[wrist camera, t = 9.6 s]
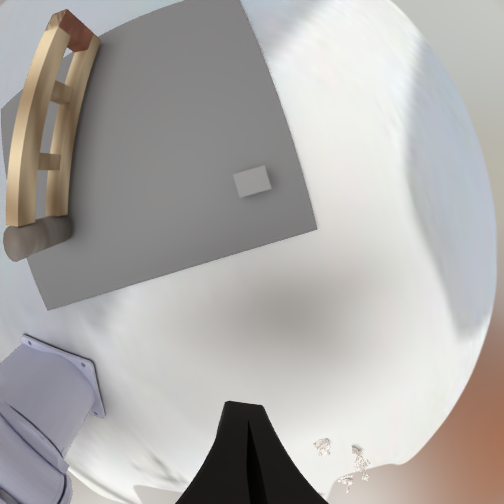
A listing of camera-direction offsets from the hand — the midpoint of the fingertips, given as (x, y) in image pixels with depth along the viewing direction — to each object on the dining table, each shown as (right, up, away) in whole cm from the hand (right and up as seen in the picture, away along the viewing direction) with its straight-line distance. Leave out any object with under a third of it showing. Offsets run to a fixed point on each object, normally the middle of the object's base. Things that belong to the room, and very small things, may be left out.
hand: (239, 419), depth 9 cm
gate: (-12, +14, +5) cm, 19 cm away
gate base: (-9, +14, +7) cm, 18 cm away
